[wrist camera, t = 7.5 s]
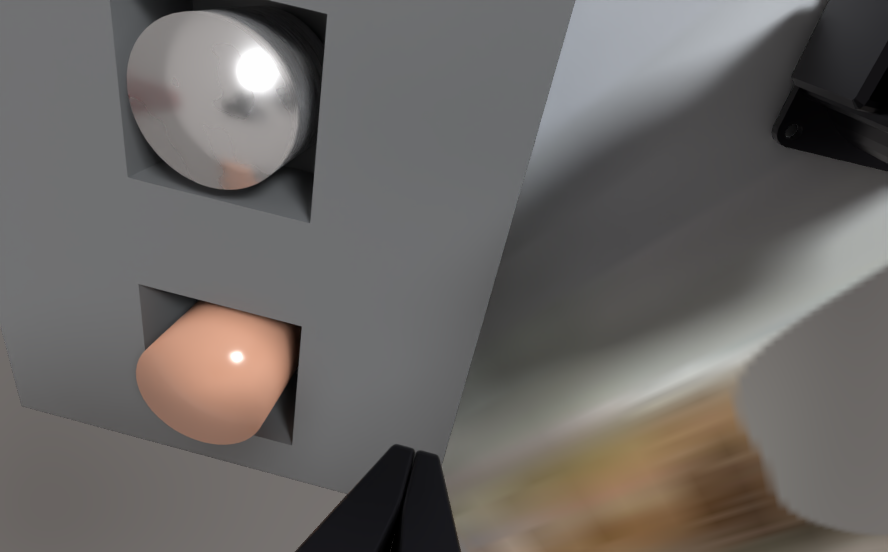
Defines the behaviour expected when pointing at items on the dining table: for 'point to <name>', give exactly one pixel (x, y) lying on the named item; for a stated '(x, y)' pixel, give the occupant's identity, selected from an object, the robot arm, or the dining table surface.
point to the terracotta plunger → (218, 372)
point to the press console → (272, 220)
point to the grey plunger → (227, 92)
